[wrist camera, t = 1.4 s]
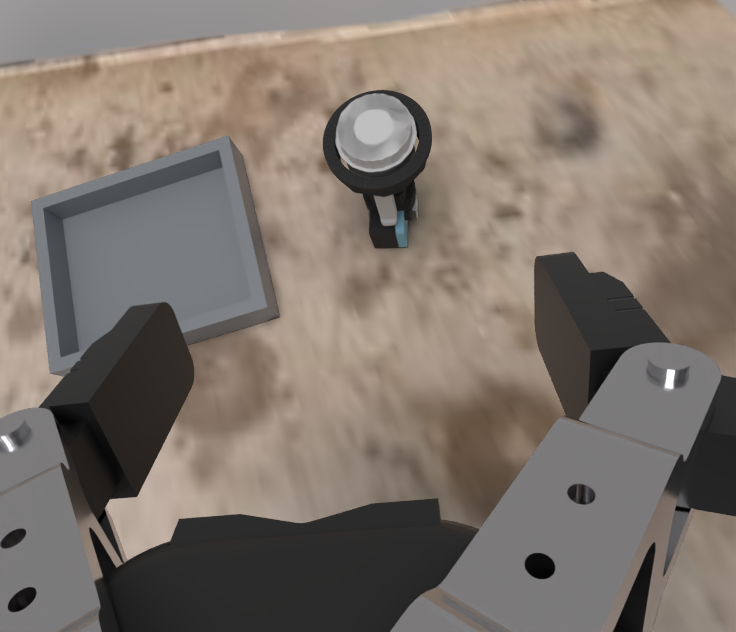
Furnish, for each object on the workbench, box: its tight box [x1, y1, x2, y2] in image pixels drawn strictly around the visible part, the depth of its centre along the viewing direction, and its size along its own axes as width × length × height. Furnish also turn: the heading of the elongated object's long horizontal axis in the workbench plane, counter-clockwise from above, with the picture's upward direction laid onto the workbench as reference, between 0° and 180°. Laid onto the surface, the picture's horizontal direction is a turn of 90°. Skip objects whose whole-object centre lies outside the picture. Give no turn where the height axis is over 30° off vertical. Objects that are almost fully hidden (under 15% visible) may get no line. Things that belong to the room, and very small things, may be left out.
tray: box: [31, 136, 280, 377], centre depth 36 cm, size 14×12×2 cm
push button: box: [323, 90, 432, 248], centre depth 31 cm, size 7×5×10 cm
